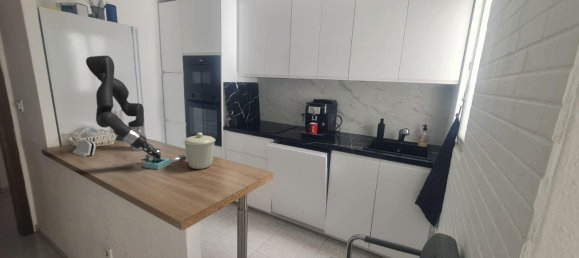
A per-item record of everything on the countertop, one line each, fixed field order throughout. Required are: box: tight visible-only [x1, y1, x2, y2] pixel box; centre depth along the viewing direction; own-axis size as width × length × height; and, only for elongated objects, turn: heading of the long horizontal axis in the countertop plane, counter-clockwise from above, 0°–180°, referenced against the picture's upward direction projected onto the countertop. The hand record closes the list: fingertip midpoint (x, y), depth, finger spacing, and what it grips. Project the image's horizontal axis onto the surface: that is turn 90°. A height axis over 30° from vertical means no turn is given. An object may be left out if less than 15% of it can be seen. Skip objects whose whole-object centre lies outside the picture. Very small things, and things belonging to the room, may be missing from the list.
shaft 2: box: [169, 154, 188, 164], centre depth 150 cm, size 12×4×3 cm, turn 137°
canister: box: [182, 132, 216, 170], centre depth 143 cm, size 18×18×21 cm
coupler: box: [152, 148, 162, 163], centre depth 142 cm, size 5×5×10 cm
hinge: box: [72, 139, 97, 158], centre depth 157 cm, size 17×5×10 cm, turn 62°
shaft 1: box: [144, 153, 153, 161], centre depth 150 cm, size 12×4×3 cm, turn 47°
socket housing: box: [143, 157, 172, 171], centre depth 143 cm, size 10×10×3 cm
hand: (159, 155), depth 142 cm, fingers open, 8 cm apart
